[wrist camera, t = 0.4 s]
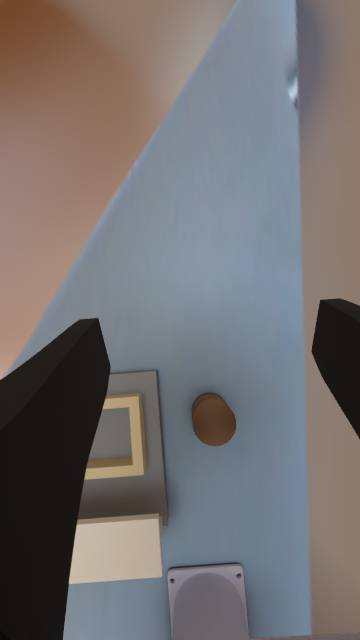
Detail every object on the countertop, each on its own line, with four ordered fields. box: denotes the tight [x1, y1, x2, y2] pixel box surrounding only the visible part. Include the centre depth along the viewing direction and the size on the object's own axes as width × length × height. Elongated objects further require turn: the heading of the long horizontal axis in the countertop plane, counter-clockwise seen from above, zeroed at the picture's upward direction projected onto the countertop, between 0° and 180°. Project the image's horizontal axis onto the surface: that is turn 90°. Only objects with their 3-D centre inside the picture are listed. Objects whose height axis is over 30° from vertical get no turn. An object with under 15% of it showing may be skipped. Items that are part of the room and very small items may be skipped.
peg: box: [192, 393, 236, 446], centre depth 32 cm, size 4×4×6 cm
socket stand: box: [69, 370, 168, 584], centre depth 30 cm, size 16×11×9 cm
